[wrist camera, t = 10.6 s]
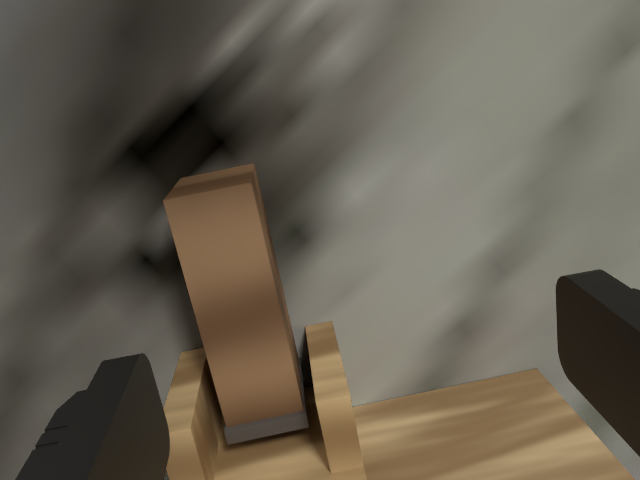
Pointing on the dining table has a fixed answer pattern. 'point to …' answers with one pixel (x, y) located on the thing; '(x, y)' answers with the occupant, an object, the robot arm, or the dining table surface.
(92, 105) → the dining table surface
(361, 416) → the light wood notched block
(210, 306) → the brown rectangular block
